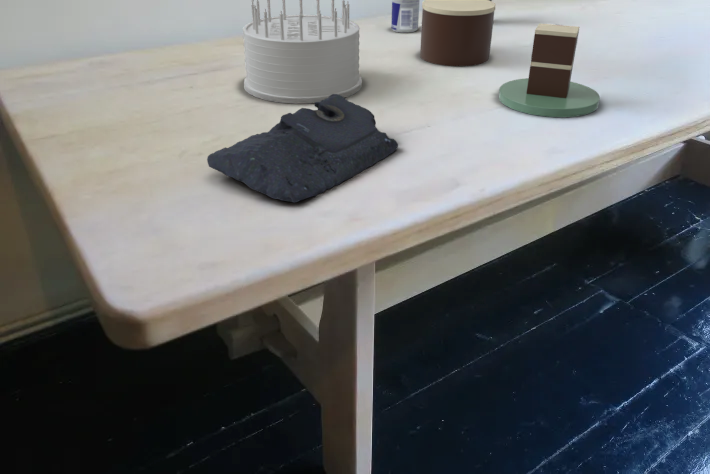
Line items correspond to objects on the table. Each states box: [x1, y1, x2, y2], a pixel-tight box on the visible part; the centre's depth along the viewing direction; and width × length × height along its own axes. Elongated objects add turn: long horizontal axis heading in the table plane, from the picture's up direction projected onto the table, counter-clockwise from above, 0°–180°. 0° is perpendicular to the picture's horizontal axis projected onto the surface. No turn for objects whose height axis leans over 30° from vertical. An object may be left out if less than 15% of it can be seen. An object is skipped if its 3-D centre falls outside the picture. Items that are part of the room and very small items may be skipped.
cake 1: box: [242, 0, 363, 104], centre depth 99 cm, size 18×18×13 cm
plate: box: [498, 77, 601, 118], centre depth 95 cm, size 14×14×1 cm
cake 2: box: [419, 0, 496, 67], centre depth 114 cm, size 12×12×9 cm
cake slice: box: [527, 22, 580, 98], centre depth 93 cm, size 6×4×9 cm
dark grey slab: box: [206, 94, 399, 203], centre depth 76 cm, size 15×22×5 cm
